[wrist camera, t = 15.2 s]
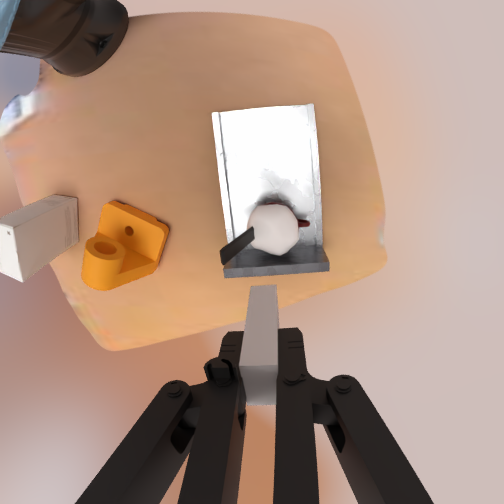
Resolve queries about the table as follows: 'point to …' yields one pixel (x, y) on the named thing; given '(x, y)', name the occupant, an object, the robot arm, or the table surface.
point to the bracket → (122, 247)
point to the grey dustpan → (270, 183)
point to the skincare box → (37, 235)
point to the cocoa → (267, 231)
